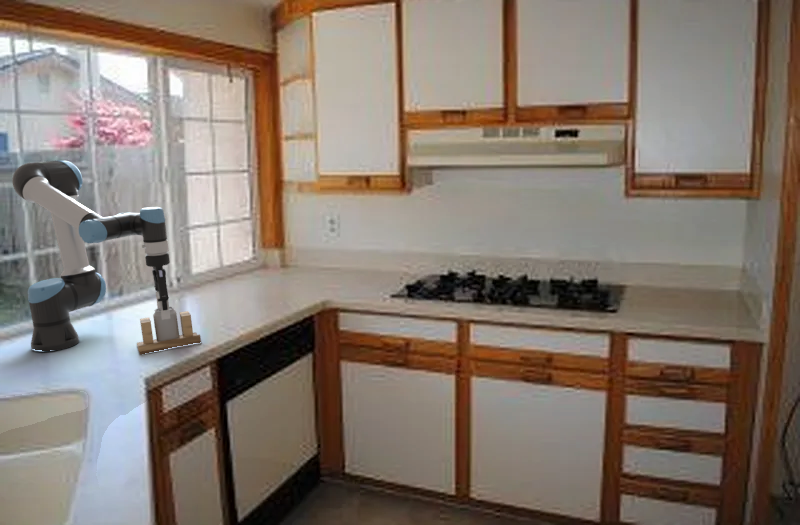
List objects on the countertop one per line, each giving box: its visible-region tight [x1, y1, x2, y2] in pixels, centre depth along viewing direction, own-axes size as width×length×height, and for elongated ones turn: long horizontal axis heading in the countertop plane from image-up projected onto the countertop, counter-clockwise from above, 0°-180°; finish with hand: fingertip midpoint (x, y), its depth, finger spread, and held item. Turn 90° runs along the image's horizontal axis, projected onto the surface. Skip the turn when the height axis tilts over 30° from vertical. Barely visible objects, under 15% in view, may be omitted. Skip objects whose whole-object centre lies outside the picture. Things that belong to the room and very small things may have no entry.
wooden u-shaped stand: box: [136, 310, 202, 356], centre depth 222 cm, size 12×20×10 cm, turn 115°
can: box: [152, 306, 180, 342], centre depth 222 cm, size 8×8×12 cm
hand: (163, 314), depth 222 cm, fingers open, 13 cm apart
